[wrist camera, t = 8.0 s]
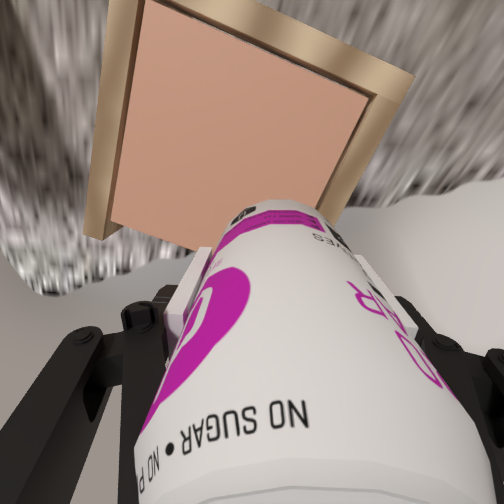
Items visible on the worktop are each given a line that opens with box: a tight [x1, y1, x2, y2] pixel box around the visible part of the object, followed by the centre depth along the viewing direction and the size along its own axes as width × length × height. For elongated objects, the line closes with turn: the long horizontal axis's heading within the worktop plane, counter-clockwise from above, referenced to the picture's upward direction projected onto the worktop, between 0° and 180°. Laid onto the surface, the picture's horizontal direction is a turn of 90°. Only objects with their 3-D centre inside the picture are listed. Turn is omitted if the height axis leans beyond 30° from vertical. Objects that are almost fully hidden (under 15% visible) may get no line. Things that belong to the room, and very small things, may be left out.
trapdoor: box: [111, 0, 369, 256], centre depth 25 cm, size 18×18×2 cm
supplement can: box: [134, 199, 497, 504], centre depth 12 cm, size 8×8×15 cm
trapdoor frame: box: [83, 0, 415, 241], centre depth 34 cm, size 23×23×22 cm
